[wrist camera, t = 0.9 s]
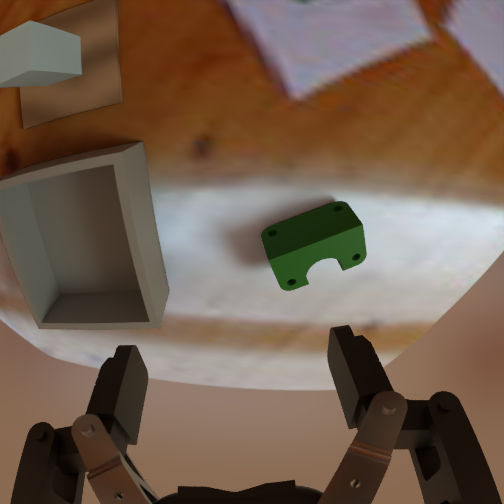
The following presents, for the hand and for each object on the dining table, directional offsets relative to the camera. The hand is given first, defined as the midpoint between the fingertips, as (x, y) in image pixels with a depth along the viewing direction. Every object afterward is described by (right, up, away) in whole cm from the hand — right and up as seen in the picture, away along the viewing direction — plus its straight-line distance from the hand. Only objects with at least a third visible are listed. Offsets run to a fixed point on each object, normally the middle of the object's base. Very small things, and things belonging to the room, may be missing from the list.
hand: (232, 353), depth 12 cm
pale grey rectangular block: (-21, +26, +14) cm, 36 cm away
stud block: (-21, +27, +15) cm, 37 cm away
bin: (-20, +7, +25) cm, 33 cm away
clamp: (+8, +6, +28) cm, 30 cm away
